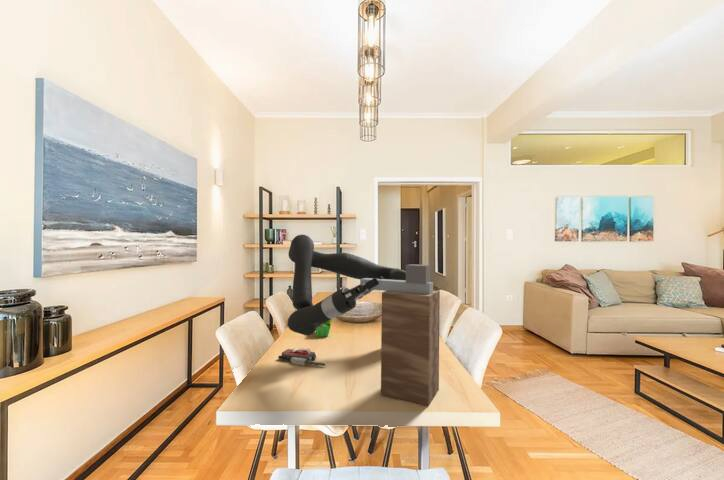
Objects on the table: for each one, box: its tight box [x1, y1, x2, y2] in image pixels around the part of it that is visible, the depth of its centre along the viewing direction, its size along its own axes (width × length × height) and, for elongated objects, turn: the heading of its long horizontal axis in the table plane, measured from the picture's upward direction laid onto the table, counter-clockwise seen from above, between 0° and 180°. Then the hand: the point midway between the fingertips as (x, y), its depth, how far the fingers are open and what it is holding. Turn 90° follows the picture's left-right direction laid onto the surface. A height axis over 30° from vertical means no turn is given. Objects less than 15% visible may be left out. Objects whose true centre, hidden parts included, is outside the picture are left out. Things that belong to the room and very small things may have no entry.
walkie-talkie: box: [277, 347, 326, 367], centre depth 128 cm, size 9×4×20 cm
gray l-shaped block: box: [359, 263, 434, 294], centre depth 104 cm, size 5×22×8 cm, turn 64°
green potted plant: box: [315, 318, 334, 338], centre depth 164 cm, size 11×9×11 cm
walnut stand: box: [380, 289, 441, 407], centre depth 102 cm, size 12×14×30 cm
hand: (380, 280), depth 106 cm, fingers closed on gray l-shaped block, 4 cm apart
